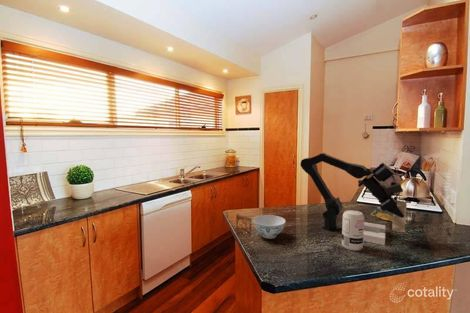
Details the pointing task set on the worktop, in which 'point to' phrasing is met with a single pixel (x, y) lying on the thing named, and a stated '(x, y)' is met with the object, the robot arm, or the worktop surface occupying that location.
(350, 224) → the supplement can
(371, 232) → the white flat frame
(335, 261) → the worktop surface
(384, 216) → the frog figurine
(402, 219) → the block
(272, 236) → the chinaware
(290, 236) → the worktop surface
